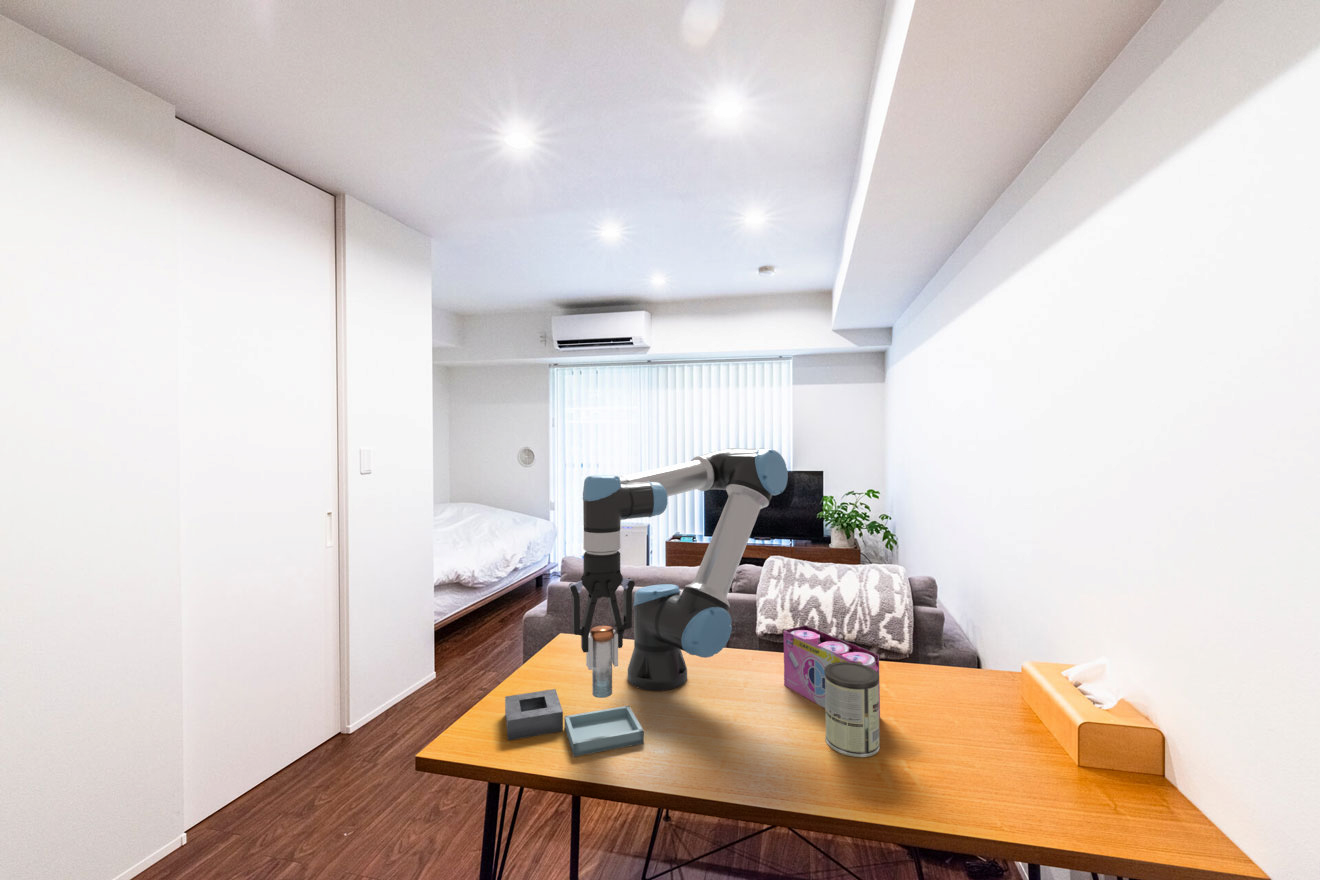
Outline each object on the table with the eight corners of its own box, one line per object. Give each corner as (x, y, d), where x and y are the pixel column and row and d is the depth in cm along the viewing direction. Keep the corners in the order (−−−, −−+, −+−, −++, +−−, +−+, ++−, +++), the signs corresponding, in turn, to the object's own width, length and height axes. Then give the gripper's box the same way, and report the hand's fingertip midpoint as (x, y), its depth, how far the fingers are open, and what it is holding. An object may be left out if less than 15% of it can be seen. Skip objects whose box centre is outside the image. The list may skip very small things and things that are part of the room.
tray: (629, 716, 119) (629, 705, 119) (643, 743, 108) (643, 730, 108) (564, 728, 114) (564, 716, 114) (573, 756, 104) (573, 743, 104)
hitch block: (555, 706, 123) (555, 688, 123) (562, 730, 113) (562, 711, 113) (505, 714, 120) (505, 696, 120) (508, 740, 110) (507, 720, 110)
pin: (610, 686, 114) (610, 624, 114) (616, 696, 110) (615, 631, 110) (588, 690, 112) (588, 627, 113) (593, 700, 108) (593, 634, 108)
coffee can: (825, 725, 115) (825, 658, 115) (878, 734, 111) (878, 665, 111) (823, 752, 105) (823, 679, 105) (881, 762, 101) (880, 686, 101)
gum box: (886, 720, 117) (886, 657, 117) (861, 730, 113) (860, 664, 113) (806, 678, 138) (806, 624, 138) (782, 685, 134) (782, 629, 134)
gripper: (638, 545, 118) (638, 653, 118) (555, 550, 112) (556, 664, 112) (648, 551, 111) (648, 666, 110) (561, 557, 105) (561, 679, 105)
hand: (602, 665), depth 111 cm, fingers closed on pin, 4 cm apart
